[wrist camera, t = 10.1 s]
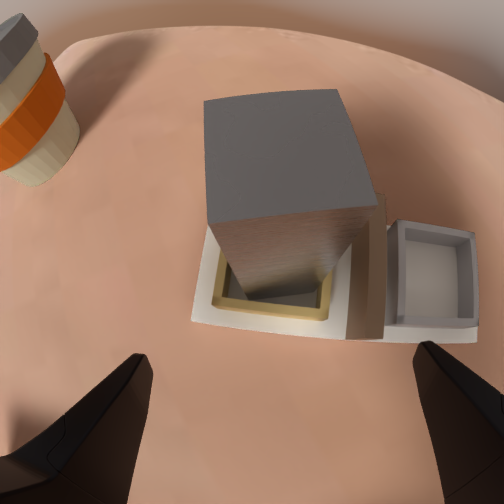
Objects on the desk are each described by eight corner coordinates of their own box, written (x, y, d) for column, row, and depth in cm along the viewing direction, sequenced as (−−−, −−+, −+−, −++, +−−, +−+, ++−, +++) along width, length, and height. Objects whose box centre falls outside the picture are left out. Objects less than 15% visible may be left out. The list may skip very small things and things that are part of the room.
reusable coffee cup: (82, 186, 23) (-24, 75, 9) (-1, 213, 23) (-93, 147, 9) (104, 93, 27) (47, -7, 12) (25, 126, 27) (-36, 54, 13)
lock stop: (248, 300, 18) (207, 223, 7) (242, 238, 19) (203, 101, 8) (313, 292, 18) (378, 204, 7) (303, 231, 19) (336, 89, 8)
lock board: (194, 322, 19) (169, 314, 14) (214, 211, 21) (199, 174, 16) (469, 343, 17) (511, 338, 12) (467, 243, 19) (504, 219, 14)
